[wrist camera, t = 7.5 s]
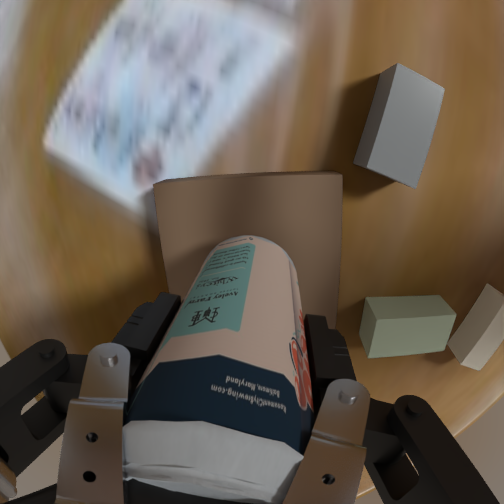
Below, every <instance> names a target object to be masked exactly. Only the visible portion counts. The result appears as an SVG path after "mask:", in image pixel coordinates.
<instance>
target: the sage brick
mask: <svg viewBox="0 0 504 504" xmlns="http://www.w3.org/2000/svg"><path fill="white" fill-rule="evenodd" d="M456 315H457V314H456V313H455V312H454V311H453V310H452V308H451V307H450V306H449V305H448V304H447V303H446V302H445V301H444V299H443V298H442V297H441V296H440V295H424V296H396V297H365V303H364V309H363V315H362V320H361V325H360V330H359V336H360V338H361V341H362V344H363V346H364V349H365V352H366V354H367V357H368V358H380V357H392V356H403V355H413V354H422V353H430V352H438V351H444V349H445V347H446V344H447V341H448V339H449V336H450V333H451V330H452V327H453V324H454V321H455V318H456Z"/></svg>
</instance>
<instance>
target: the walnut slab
mask: <svg viewBox="0 0 504 504" xmlns="http://www.w3.org/2000/svg"><path fill="white" fill-rule="evenodd" d="M153 188H154V197H155V205H156V213H157V220H158V227H159V234H160V241H161V248H162V254H163V260H164V266H165V272H166V278H167V283H168V289H169V293H170V294H176V295H180V296H181V303H182V301H183V299H184V297H185V295H186V294H187V292H188V290H189V288H190V286H191V285H192V283H193V281H194V279H195V277H196V276H197V274H198V272H199V270H200V269H201V267H202V265H203V263H204V261H205V259H206V258H207V256H208V255H209V253H210V252H211V251H212V250H213V249H214V248H215V247H216V246H217V245H218V244H219V243H221V242H223V241H225V240H227V239H229V238H233V237H238V236H243V235H252V236H258V237H263V238H265V239H268V240H270V241H272V242H274V243H275V244H277V245H278V246H280V247H281V248H282V249H283V250H284V251H285V252H286V253H287V254H288V256H289V257H290V258H291V260H292V262H293V264H294V266H295V269H296V272H297V279H298V286H299V293H300V300H301V307H302V315H303V321H304V318H305V315H306V314H314V315H323V316H325V317H326V320H327V324H328V328H329V329H335V327H336V317H337V306H338V293H339V279H340V262H341V240H342V193H343V179H342V174H340V173H338V172H336V171H299V172H265V173H244V174H227V175H212V176H199V177H187V178H176V179H166V180H163V181H160V182H158V183H155V184H153Z"/></svg>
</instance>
